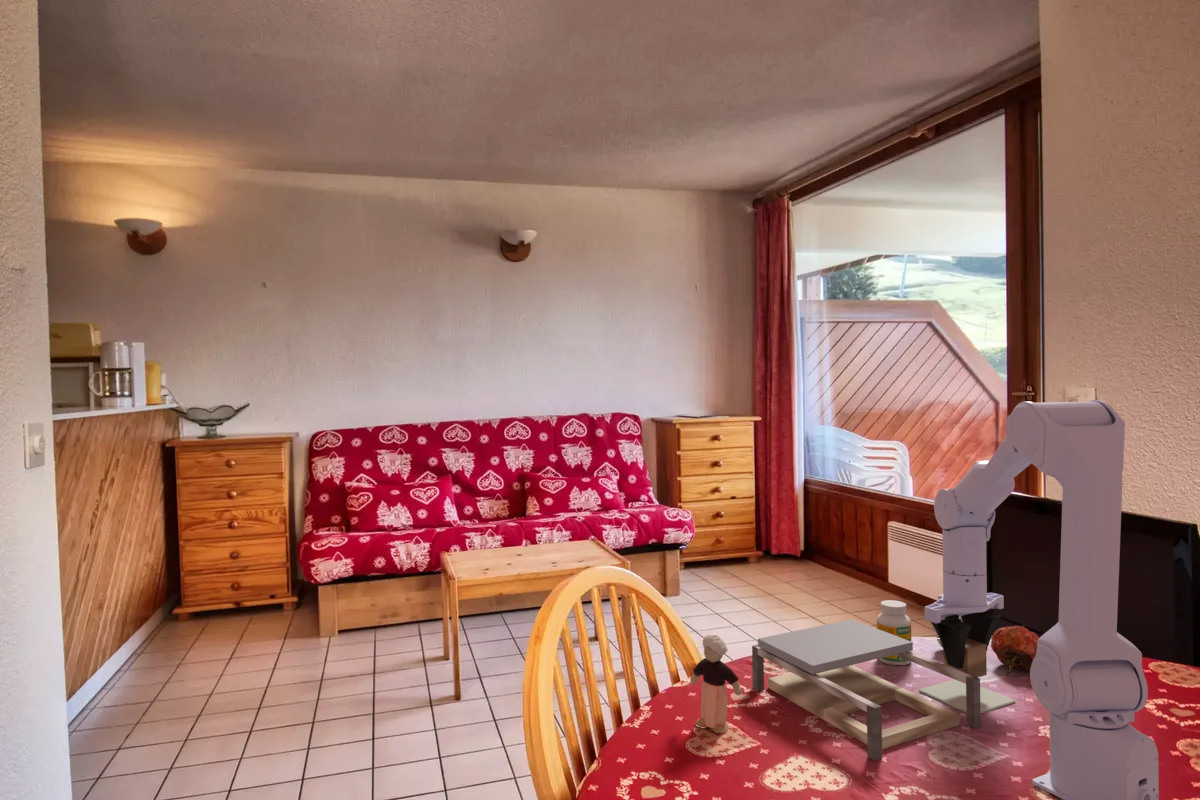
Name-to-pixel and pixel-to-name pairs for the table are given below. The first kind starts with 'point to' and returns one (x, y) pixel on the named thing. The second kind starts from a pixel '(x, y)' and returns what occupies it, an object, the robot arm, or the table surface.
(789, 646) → the sliding cover
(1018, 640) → the red rounded fruit
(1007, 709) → the table surface
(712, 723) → the grandmother figurine
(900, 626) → the supplement bottle
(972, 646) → the walnut block
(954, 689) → the rubber mat
